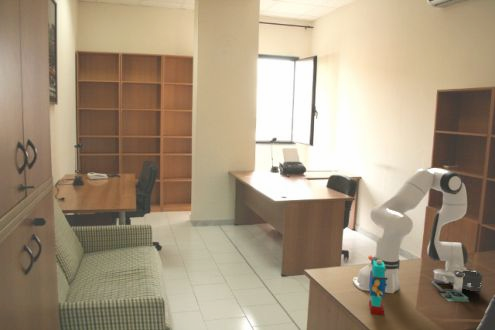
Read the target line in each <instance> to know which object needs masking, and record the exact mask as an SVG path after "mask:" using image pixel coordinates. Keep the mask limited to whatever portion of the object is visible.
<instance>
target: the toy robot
mask: <svg viewBox="0 0 495 330" xmlns="http://www.w3.org/2000/svg"><path fill="white" fill-rule="evenodd" d="M379 256H380V255H379ZM385 271H386V268H385V265H384V262H382V260H377V261H373V266H372V270H371V271H370V282H369V289H370V291H369V294H370V300H369V301H368V302H369V303H368V306H369V307H368V308H369V312H370V314H373V315H382V316H384V315H385V309H384V306H383V302H382V298H385V286H386V279H385Z"/></svg>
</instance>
